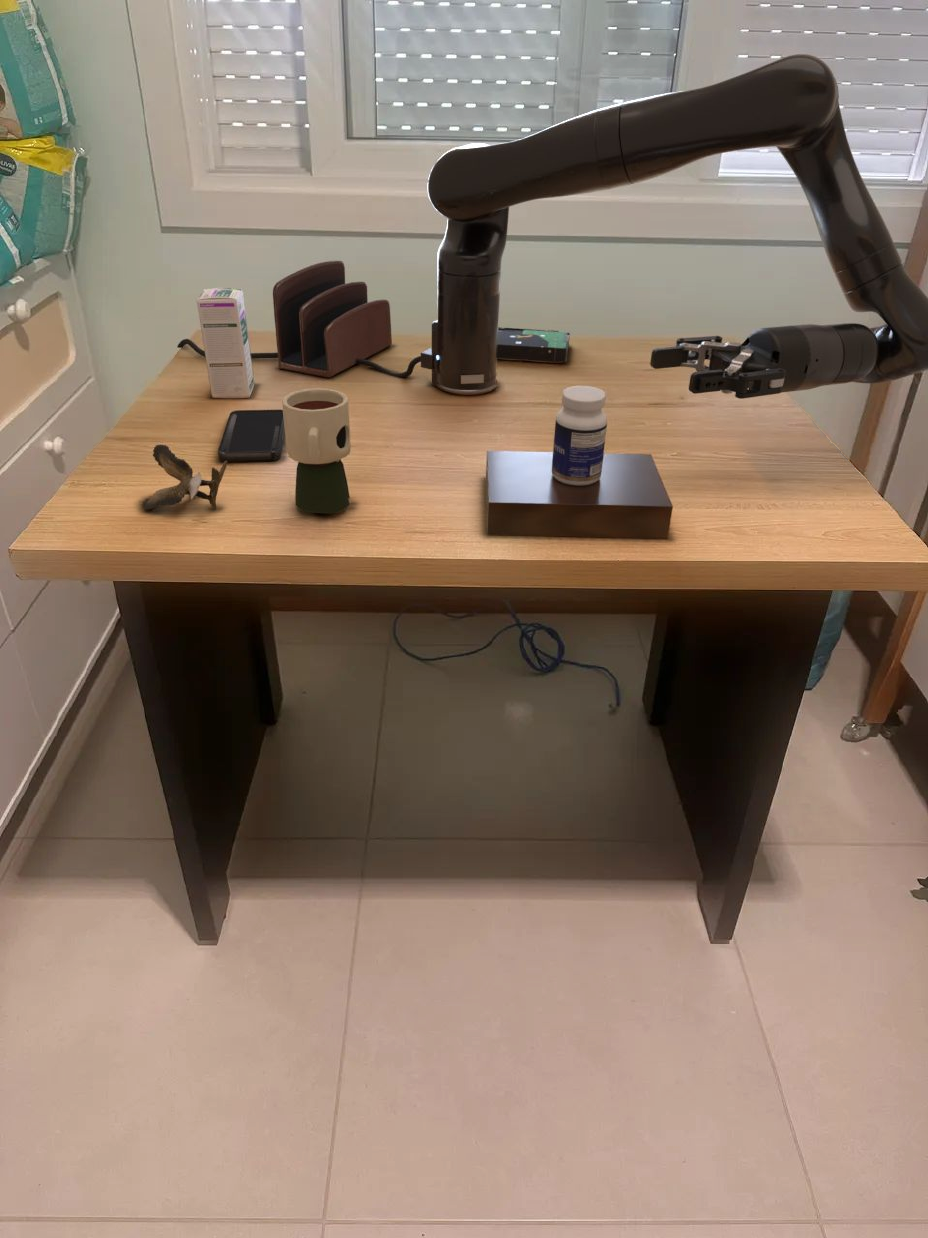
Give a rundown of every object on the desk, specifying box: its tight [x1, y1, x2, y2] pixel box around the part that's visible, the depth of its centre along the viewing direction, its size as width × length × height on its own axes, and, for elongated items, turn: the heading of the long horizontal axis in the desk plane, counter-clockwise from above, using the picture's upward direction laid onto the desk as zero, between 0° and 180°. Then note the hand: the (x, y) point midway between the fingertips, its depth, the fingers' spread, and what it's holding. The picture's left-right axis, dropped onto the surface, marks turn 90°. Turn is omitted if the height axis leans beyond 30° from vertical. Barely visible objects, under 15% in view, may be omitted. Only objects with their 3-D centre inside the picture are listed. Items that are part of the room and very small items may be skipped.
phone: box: [217, 409, 285, 463], centre depth 118 cm, size 8×1×15 cm
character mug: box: [281, 387, 352, 515], centre depth 99 cm, size 11×7×13 cm, turn 4°
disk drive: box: [497, 326, 571, 364], centre depth 152 cm, size 10×3×15 cm
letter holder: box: [272, 260, 393, 379], centre depth 144 cm, size 10×20×14 cm, turn 154°
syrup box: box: [196, 287, 256, 399], centre depth 129 cm, size 6×6×14 cm
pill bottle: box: [552, 385, 608, 486], centre depth 99 cm, size 6×6×10 cm
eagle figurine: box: [141, 444, 228, 510], centre depth 101 cm, size 8×7×9 cm
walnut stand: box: [485, 450, 674, 540], centre depth 103 cm, size 20×14×4 cm
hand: (671, 370), depth 100 cm, fingers open, 8 cm apart
